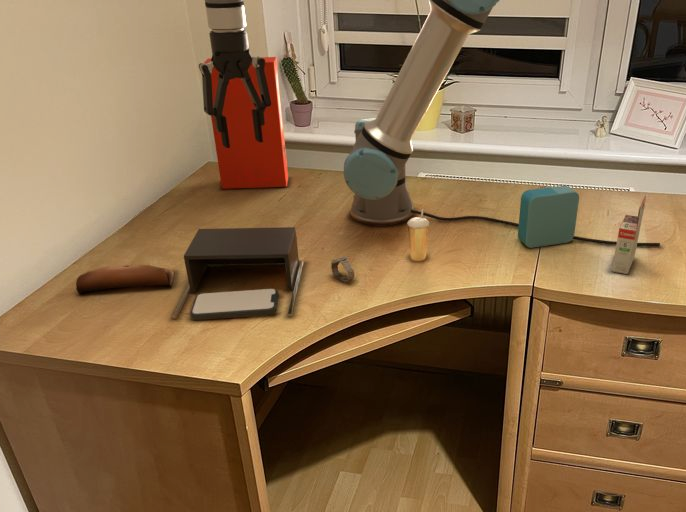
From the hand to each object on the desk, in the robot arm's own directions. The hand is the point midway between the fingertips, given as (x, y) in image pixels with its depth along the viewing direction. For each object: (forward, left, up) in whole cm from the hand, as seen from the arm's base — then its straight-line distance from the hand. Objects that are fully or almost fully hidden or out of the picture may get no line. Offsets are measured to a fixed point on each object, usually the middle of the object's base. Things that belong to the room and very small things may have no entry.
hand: (242, 143), depth 154 cm
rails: (-2, +28, -21) cm, 35 cm away
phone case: (-2, +36, -21) cm, 42 cm away
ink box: (-81, +21, -21) cm, 86 cm away
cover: (-2, +23, -21) cm, 31 cm away
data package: (-67, +8, -21) cm, 71 cm away
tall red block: (+5, -34, -21) cm, 40 cm away
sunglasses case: (+22, +25, -21) cm, 40 cm away
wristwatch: (-22, +25, -21) cm, 40 cm away
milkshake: (-38, +15, -21) cm, 46 cm away
